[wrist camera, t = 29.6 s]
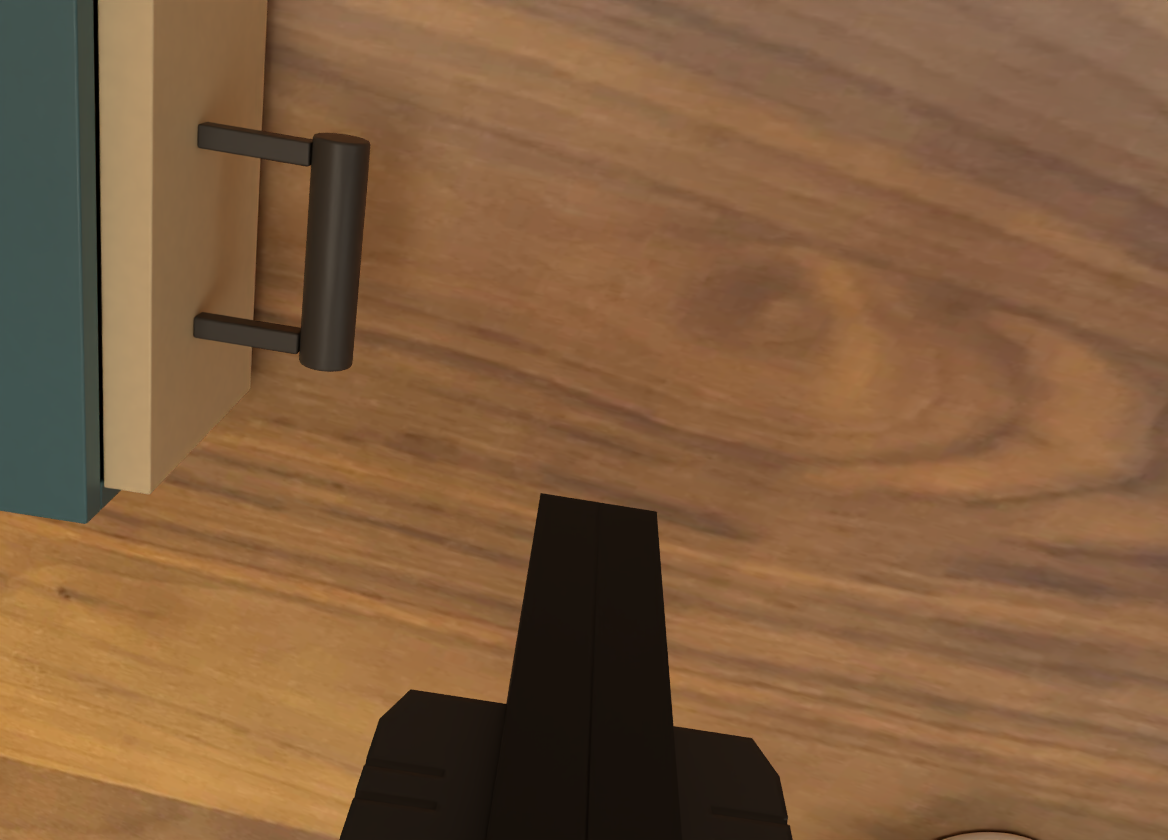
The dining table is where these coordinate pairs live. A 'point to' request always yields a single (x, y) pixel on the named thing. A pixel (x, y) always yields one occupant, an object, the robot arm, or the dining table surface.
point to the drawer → (201, 227)
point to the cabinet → (49, 264)
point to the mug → (987, 836)
